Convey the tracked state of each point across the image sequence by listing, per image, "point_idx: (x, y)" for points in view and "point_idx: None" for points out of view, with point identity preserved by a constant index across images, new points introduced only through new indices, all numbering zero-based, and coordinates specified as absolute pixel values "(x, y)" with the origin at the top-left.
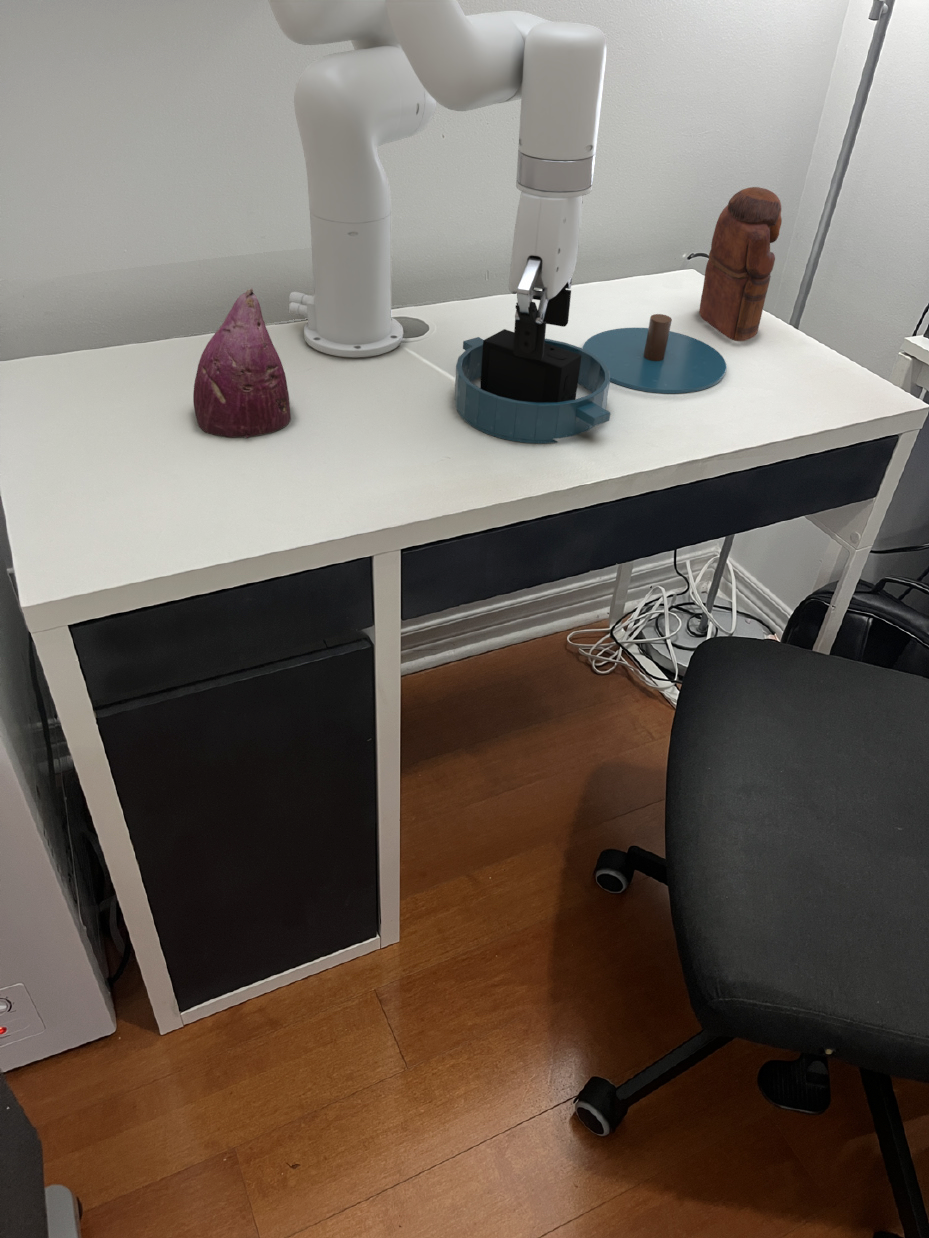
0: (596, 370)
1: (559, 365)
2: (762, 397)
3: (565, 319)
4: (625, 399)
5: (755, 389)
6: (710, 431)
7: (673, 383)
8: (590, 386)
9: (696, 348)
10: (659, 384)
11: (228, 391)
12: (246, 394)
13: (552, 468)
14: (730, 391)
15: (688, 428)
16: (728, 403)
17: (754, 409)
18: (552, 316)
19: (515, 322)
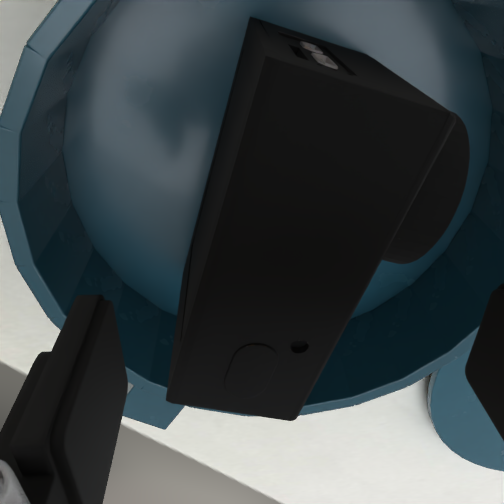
0: (404, 352)
1: (176, 395)
2: (468, 500)
3: (477, 396)
4: None
5: (498, 491)
6: (315, 470)
7: (466, 423)
8: (402, 304)
9: None
10: (455, 407)
11: None
12: None
13: (9, 307)
14: (482, 469)
15: (312, 448)
16: (432, 473)
17: (420, 498)
18: (496, 356)
19: (23, 423)
